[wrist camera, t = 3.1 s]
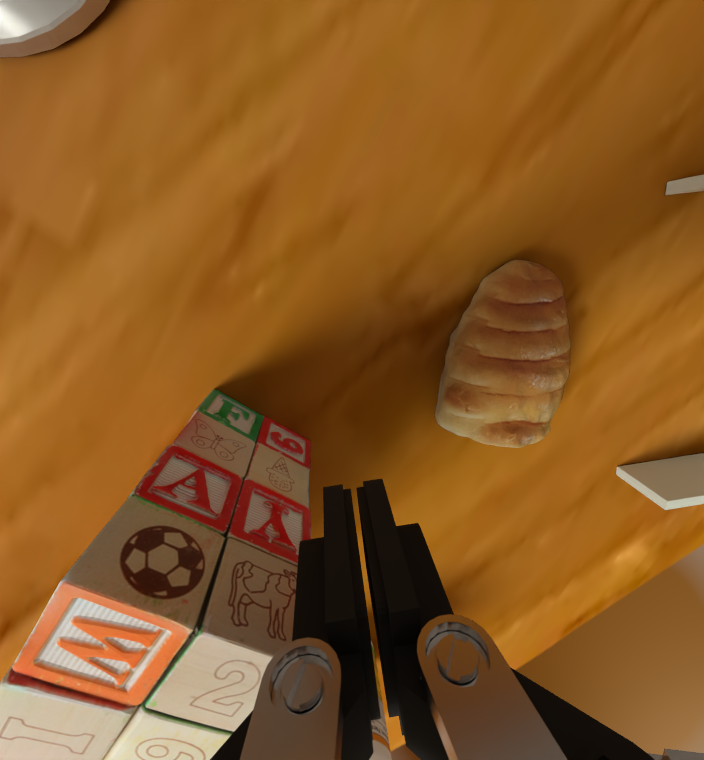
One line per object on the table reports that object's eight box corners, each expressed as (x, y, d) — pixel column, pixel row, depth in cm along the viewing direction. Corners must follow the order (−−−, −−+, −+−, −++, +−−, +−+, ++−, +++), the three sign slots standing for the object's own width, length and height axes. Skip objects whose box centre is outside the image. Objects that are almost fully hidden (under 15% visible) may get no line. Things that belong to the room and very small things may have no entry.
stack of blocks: (147, 666, 25) (5, 1018, 14) (55, 638, 23) (-197, 1013, 12) (313, 438, 20) (312, 677, 9) (213, 383, 19) (52, 588, 7)
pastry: (449, 256, 18) (484, 255, 14) (571, 263, 19) (633, 265, 15) (426, 423, 21) (450, 457, 17) (532, 423, 22) (576, 456, 18)
